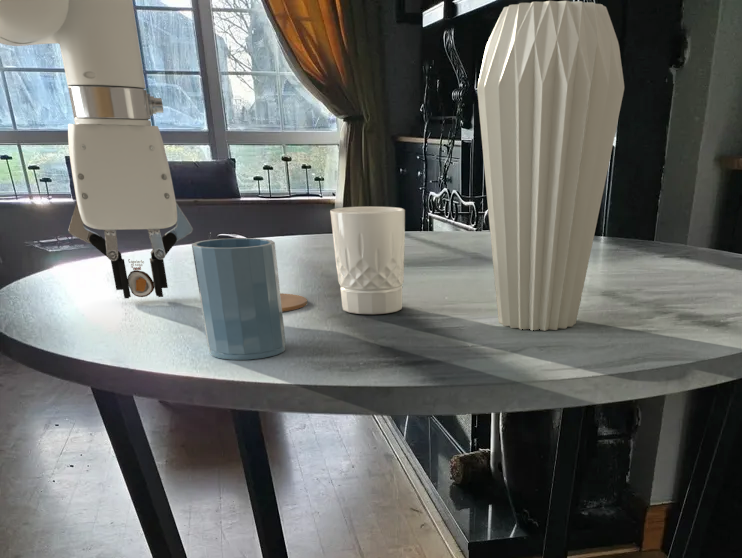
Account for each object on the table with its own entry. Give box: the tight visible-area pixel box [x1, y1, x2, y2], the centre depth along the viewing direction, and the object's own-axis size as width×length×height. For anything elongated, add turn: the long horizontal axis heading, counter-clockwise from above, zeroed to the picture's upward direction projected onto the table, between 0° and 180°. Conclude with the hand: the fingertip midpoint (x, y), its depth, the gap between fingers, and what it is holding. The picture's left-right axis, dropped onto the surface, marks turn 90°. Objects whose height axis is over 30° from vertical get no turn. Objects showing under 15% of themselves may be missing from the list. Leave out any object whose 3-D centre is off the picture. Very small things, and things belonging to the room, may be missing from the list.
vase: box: [476, 0, 625, 332], centre depth 74 cm, size 13×13×26 cm
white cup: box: [329, 206, 406, 315], centre depth 85 cm, size 8×8×10 cm
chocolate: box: [127, 258, 155, 298], centre depth 89 cm, size 3×2×4 cm
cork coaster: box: [280, 292, 308, 313], centre depth 89 cm, size 10×10×1 cm
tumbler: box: [191, 237, 286, 361], centre depth 69 cm, size 7×7×9 cm
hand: (143, 294), depth 90 cm, fingers closed on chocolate, 3 cm apart
